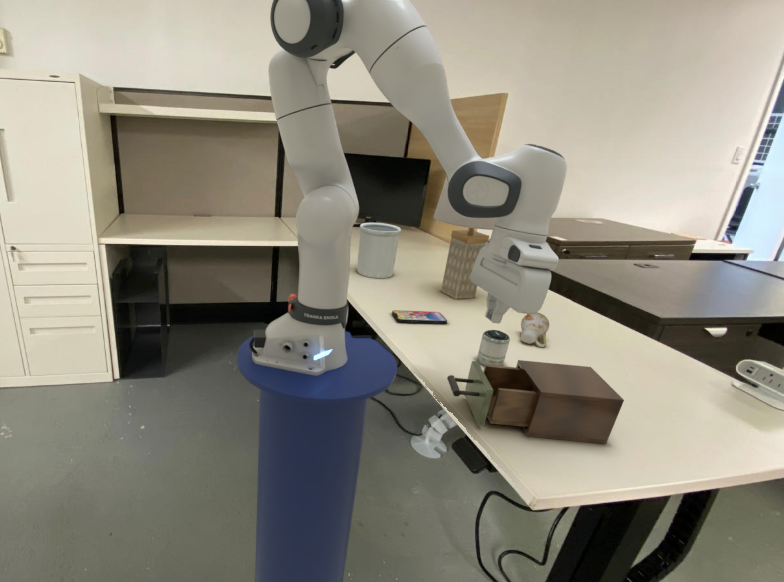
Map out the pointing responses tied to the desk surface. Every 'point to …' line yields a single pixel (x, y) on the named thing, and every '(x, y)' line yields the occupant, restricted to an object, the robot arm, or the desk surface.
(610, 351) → the desk surface
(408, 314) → the smartphone
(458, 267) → the lamp
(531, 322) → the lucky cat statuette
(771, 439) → the desk surface
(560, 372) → the cabinet
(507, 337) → the camera lens
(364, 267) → the utensil holder
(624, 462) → the desk surface
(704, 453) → the desk surface
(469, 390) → the drawer
